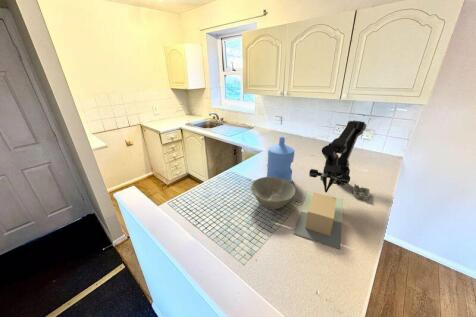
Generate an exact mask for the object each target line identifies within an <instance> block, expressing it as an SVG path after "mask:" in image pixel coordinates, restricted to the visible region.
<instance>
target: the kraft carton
mask: <svg viewBox="0 0 476 317" xmlns="http://www.w3.org/2000/svg"><path fill="white" fill-rule="evenodd" d="M336 198H337V197H335V196H330V195H327V194H326V195H325V194H322V193H319V194H318V192H314V193H313V196H312V199H311V203H310V206H309V209H308V213H307V219H306V226H305V228H307V229H310V230H313V231H316V232H319V233H322V234H325V235H328V236H330V233H331V229H332V225H333V221H334V214H335V205H336Z"/></svg>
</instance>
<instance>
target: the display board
mask: <svg viewBox="0 0 476 317" xmlns="http://www.w3.org/2000/svg"><path fill="white" fill-rule="evenodd" d="M313 193H315V192H313V191H309V190H307V193H306V196H305V199H304V202H303V205H302V207H301V210H300V212H299V216H298V219H297V222H296V225H295V228H294V230H293V233H292V234H293V235H296V236H298V237H302V238H305V239H307V240H309V241H313V242H316V243H319V244H322V245H325V246H328V247H331V248H334V249H337V250H338V251H339V250H341V248H342V247H341V246H342V245H341V243H342V227H343V226H342V225H343V206H344V199H343V198H339V197H335V198H336V205H335V214H334V221H333V225H332V229H331V233H330V236H328V235H325V234H322V233H319V232H316V231H313V230H310V229H307V228H305V226H306V219H307V213H308V209H309V206H310V203H311V199H312V196H313ZM317 193H318V192H317ZM318 194H320V193H318Z"/></svg>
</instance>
